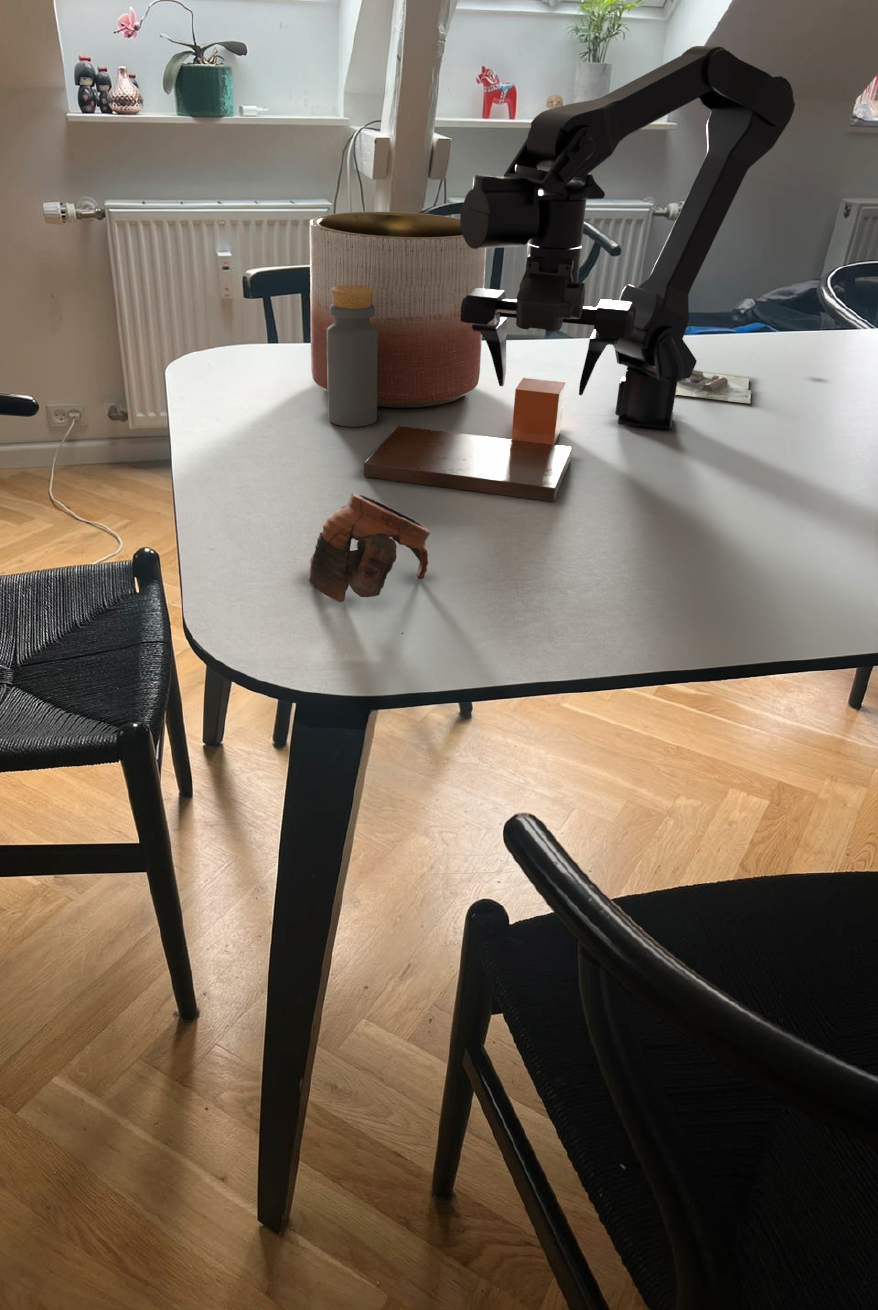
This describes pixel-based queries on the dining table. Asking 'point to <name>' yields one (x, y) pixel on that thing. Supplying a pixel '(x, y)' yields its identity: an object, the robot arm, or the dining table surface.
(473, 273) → the planter
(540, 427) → the terracotta block
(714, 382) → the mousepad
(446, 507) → the dining table surface
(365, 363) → the bottle
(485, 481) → the board
